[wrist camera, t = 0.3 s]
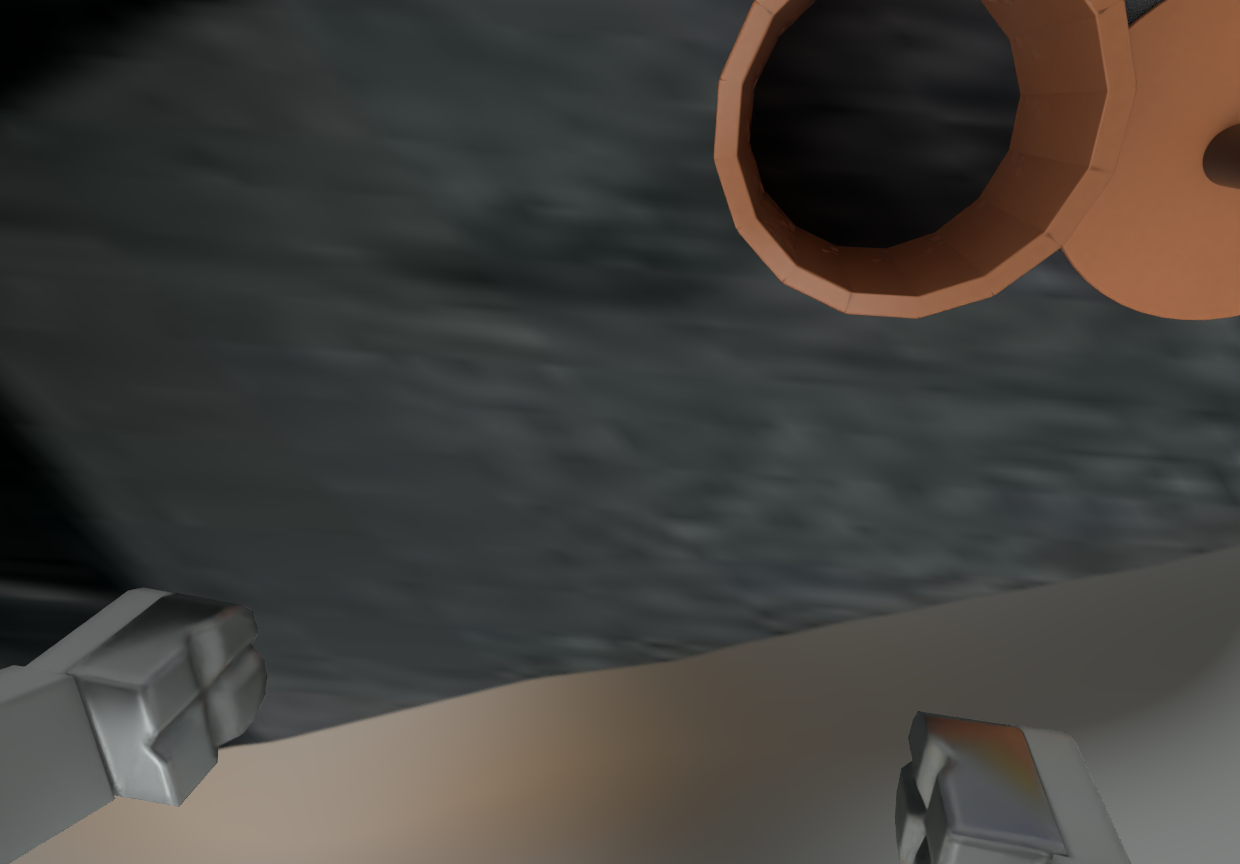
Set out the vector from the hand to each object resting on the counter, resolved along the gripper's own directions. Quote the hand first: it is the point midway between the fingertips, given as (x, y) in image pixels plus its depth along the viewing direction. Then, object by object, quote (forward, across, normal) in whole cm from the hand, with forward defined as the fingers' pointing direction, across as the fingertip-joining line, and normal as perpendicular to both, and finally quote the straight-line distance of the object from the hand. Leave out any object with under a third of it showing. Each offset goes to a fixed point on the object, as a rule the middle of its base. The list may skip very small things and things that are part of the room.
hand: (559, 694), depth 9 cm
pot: (+31, -6, -6) cm, 33 cm away
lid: (+31, -20, -5) cm, 37 cm away
